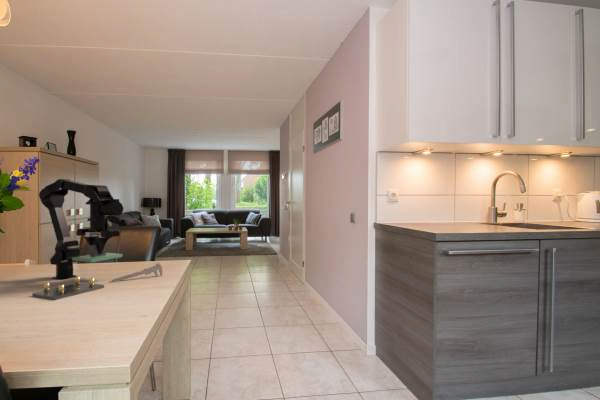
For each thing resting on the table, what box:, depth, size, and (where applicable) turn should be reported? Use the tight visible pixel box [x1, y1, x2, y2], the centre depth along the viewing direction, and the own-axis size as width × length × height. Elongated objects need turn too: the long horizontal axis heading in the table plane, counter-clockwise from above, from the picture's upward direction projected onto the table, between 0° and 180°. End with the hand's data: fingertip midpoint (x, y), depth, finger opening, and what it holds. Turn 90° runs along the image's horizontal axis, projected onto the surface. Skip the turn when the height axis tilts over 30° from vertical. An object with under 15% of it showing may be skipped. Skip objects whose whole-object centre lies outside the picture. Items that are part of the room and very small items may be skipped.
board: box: [72, 243, 123, 263], centre depth 145 cm, size 11×14×6 cm
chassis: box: [31, 275, 105, 301], centre depth 127 cm, size 12×18×4 cm, turn 156°
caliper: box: [109, 262, 163, 283], centre depth 148 cm, size 20×1×6 cm, turn 127°
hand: (98, 253), depth 144 cm, fingers closed on board, 3 cm apart
